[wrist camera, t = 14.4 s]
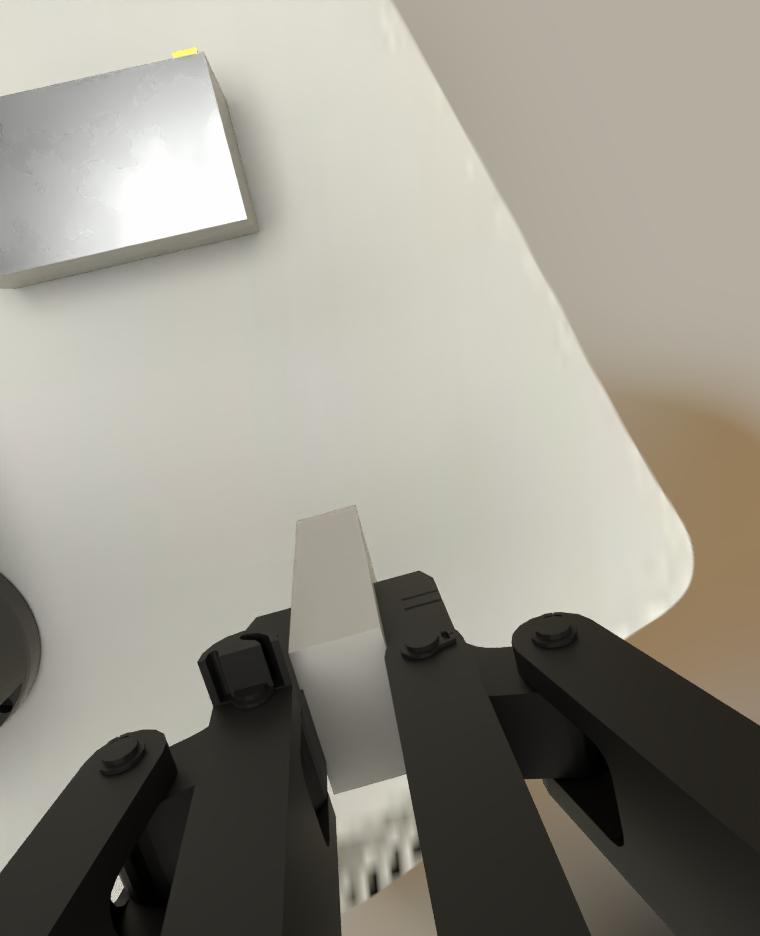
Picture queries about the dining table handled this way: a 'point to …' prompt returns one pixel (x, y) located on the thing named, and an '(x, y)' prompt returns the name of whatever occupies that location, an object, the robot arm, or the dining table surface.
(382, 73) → the dining table surface
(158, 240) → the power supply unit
